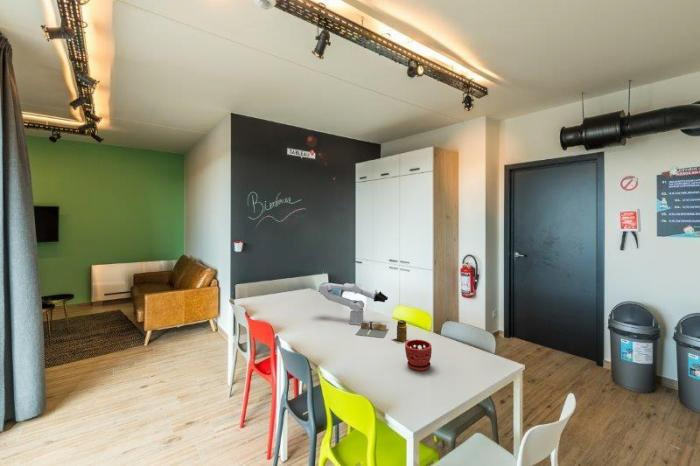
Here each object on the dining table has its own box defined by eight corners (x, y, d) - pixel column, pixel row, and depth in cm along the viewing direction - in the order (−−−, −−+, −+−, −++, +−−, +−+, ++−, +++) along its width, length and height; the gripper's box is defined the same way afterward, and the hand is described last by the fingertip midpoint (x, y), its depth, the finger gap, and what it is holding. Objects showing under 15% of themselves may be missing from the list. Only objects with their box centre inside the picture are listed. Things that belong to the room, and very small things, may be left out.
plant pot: (412, 359, 173) (412, 337, 173) (435, 366, 165) (435, 343, 164) (400, 367, 163) (400, 344, 163) (424, 375, 155) (424, 351, 154)
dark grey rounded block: (360, 328, 220) (360, 321, 219) (361, 328, 222) (361, 320, 221) (372, 330, 217) (372, 322, 217) (372, 329, 219) (372, 321, 219)
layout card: (355, 335, 209) (355, 334, 209) (362, 326, 225) (362, 326, 225) (383, 338, 203) (383, 337, 203) (388, 329, 219) (388, 328, 219)
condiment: (409, 340, 199) (409, 321, 198) (399, 343, 194) (399, 324, 194) (401, 337, 205) (401, 318, 204) (391, 340, 200) (391, 321, 200)
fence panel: (372, 329, 218) (372, 323, 217) (373, 329, 219) (373, 323, 218) (386, 331, 215) (386, 325, 215) (386, 330, 216) (386, 324, 216)
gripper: (367, 289, 222) (385, 296, 217) (372, 286, 235) (390, 292, 231) (364, 298, 222) (382, 305, 218) (370, 295, 236) (387, 301, 232)
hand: (386, 299), depth 224 cm, fingers open, 7 cm apart
